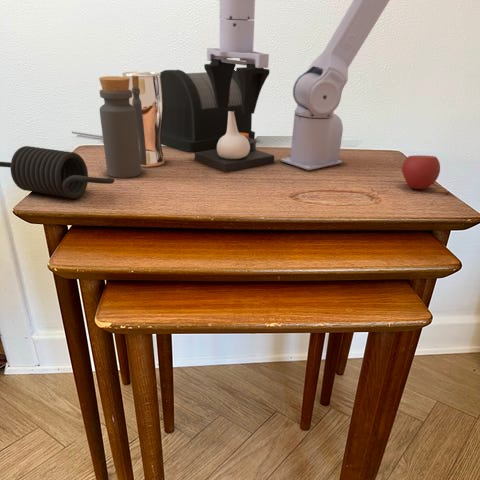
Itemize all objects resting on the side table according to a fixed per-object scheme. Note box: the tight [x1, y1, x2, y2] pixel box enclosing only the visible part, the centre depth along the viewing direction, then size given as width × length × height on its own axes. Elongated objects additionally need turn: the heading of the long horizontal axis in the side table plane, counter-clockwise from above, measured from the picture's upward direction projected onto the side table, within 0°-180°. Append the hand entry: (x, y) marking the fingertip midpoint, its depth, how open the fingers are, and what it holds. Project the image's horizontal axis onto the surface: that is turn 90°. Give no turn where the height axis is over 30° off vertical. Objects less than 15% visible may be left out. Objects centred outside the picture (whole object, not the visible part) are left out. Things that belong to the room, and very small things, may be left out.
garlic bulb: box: [216, 111, 250, 159], centre depth 85 cm, size 6×6×8 cm
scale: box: [194, 138, 275, 173], centre depth 90 cm, size 13×11×3 cm
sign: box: [71, 131, 103, 139], centre depth 102 cm, size 5×1×15 cm
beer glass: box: [121, 71, 165, 168], centre depth 83 cm, size 7×7×15 cm
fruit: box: [401, 155, 449, 195], centre depth 77 cm, size 6×6×8 cm
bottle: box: [98, 75, 142, 179], centre depth 77 cm, size 6×6×15 cm
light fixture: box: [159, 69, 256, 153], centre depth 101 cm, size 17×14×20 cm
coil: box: [0, 145, 115, 200], centre depth 69 cm, size 7×20×9 cm
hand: (235, 110), depth 82 cm, fingers open, 7 cm apart
